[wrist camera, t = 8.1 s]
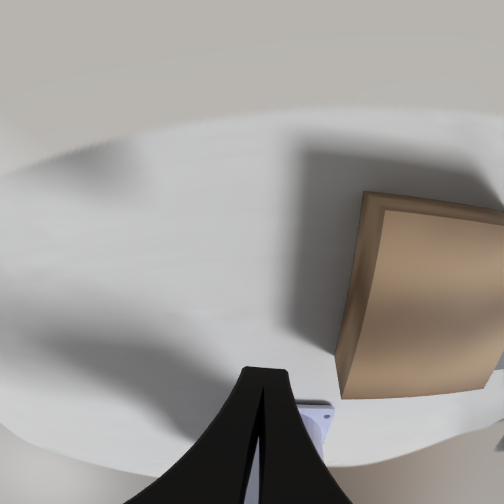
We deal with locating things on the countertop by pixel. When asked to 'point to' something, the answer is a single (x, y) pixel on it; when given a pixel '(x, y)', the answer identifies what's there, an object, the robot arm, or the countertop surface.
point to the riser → (422, 299)
